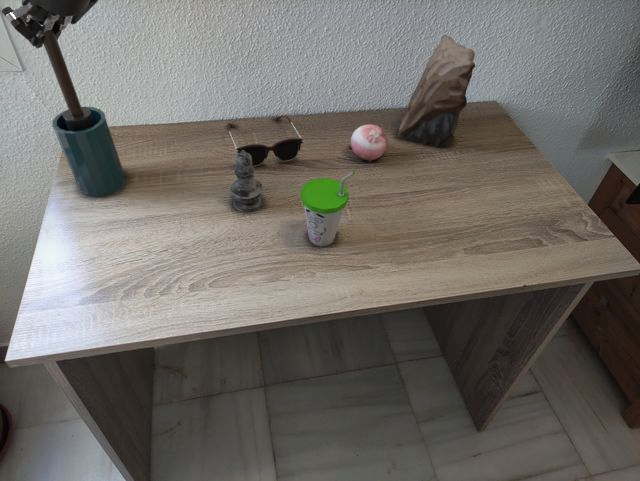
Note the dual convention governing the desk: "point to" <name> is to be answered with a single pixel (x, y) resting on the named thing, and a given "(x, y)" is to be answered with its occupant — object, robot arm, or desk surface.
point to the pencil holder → (91, 155)
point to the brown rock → (439, 95)
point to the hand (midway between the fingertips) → (42, 39)
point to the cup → (324, 208)
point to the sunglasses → (272, 148)
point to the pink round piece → (368, 142)
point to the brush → (67, 87)
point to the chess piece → (246, 185)
